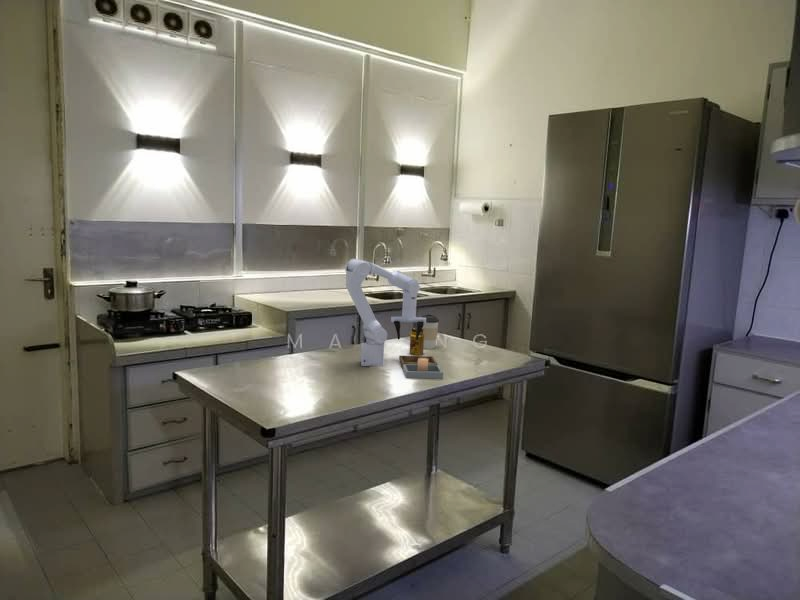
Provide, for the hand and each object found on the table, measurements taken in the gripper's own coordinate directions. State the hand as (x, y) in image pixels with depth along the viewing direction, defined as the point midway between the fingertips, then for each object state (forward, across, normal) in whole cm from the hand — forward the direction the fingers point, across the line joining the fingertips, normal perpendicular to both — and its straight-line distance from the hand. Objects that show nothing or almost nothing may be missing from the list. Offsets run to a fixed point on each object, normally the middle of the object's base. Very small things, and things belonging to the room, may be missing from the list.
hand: (407, 339), depth 242 cm
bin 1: (+9, +4, -9) cm, 13 cm away
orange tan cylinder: (+9, +4, -22) cm, 24 cm away
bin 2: (+9, +4, -22) cm, 24 cm away
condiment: (+10, +6, +11) cm, 16 cm away
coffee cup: (+10, +13, +26) cm, 31 cm away
